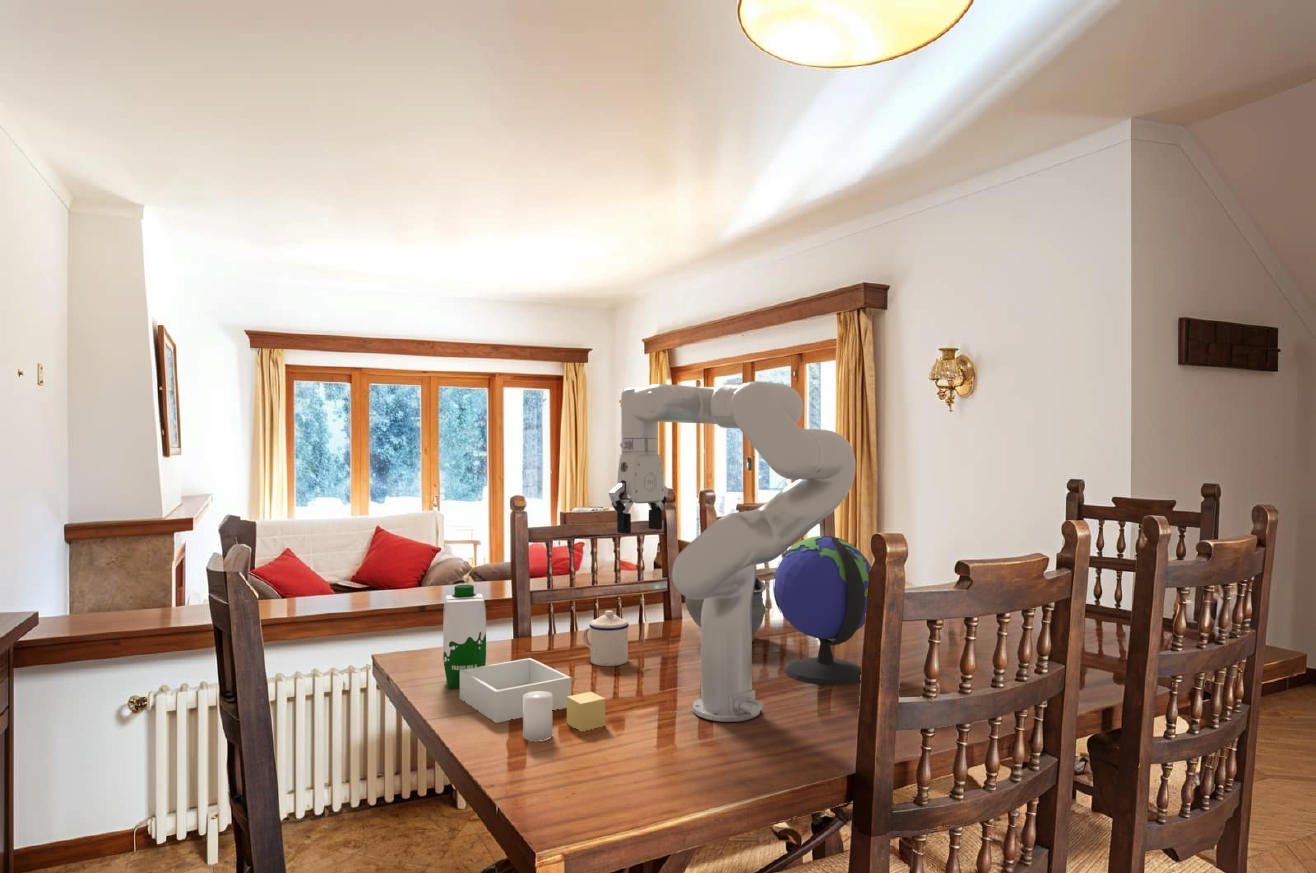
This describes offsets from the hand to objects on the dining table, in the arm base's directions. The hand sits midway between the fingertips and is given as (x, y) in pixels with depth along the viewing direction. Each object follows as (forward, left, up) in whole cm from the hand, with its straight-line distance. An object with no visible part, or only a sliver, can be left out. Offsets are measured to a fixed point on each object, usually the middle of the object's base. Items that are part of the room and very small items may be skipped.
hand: (640, 531), depth 165 cm
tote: (+7, +25, -32) cm, 41 cm away
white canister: (-12, +29, -32) cm, 45 cm away
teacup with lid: (+23, -5, -32) cm, 40 cm away
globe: (-14, -39, -32) cm, 53 cm away
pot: (+21, -40, -32) cm, 56 cm away
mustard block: (-12, +20, -32) cm, 40 cm away
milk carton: (+25, +28, -32) cm, 50 cm away
